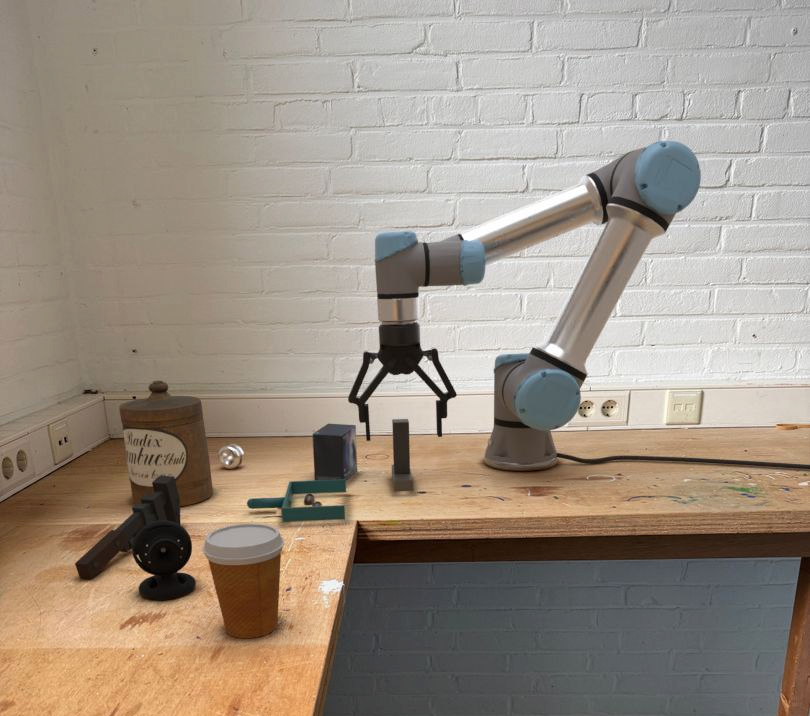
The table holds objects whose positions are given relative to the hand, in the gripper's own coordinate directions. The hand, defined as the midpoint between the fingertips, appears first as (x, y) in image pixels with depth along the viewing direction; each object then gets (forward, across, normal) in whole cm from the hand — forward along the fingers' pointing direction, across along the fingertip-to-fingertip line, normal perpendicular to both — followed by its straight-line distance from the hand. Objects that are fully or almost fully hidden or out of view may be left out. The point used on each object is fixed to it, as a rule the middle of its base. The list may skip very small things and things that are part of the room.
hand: (403, 437), depth 152 cm
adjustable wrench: (+9, +44, +30) cm, 54 cm away
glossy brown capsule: (+8, +16, +16) cm, 24 cm away
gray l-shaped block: (+10, +1, 0) cm, 10 cm away
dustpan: (+9, +20, +13) cm, 26 cm away
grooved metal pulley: (+9, +37, -20) cm, 43 cm away
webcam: (+9, +36, +47) cm, 60 cm away
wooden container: (+9, +45, +1) cm, 46 cm away
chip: (+8, +18, +11) cm, 23 cm away
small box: (+10, +14, -7) cm, 18 cm away
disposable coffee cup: (+9, +23, +60) cm, 65 cm away
